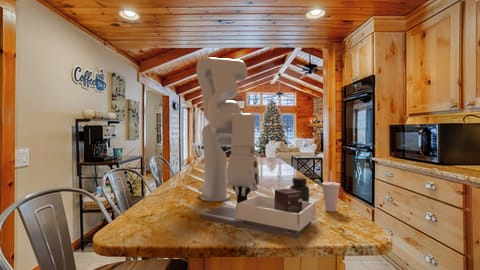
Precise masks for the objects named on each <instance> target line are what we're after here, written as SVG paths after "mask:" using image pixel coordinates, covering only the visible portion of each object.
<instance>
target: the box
mask: <svg viewBox="0 0 480 270" xmlns="http://www.w3.org/2000/svg"><path fill="white" fill-rule="evenodd" d="M274 197H275V205H274V210H280V211H286V212H292V213H299V212H301V211H302V191H298V190H294V189H290V187H289V188H280V189H275V190H274Z"/></svg>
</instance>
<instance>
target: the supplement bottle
mask: <svg viewBox="0 0 480 270" xmlns="http://www.w3.org/2000/svg"><path fill="white" fill-rule="evenodd" d="M289 188H290V189H294V190H298V191H302V201H305V202H310V188H309V186H307V178H306V177H300V176H296V177H292V184H291V185H290V186H289Z"/></svg>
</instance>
